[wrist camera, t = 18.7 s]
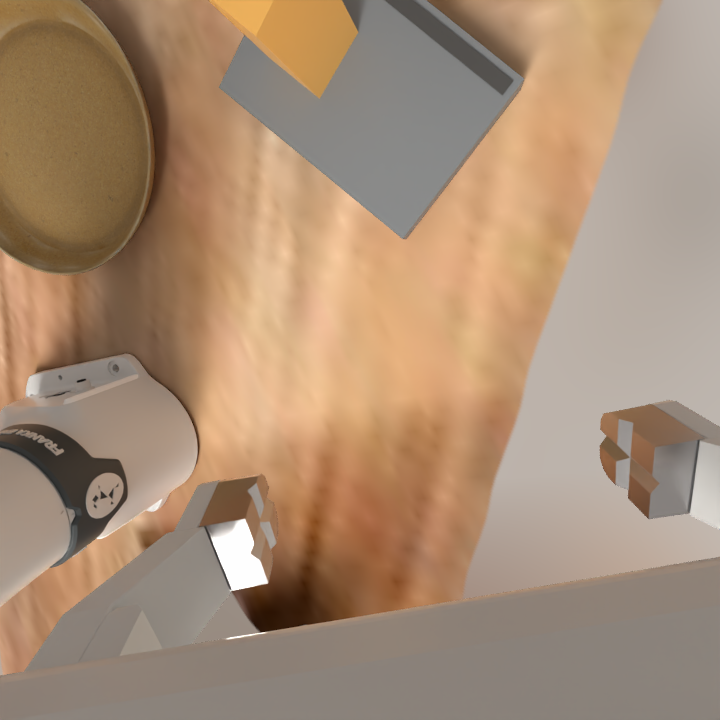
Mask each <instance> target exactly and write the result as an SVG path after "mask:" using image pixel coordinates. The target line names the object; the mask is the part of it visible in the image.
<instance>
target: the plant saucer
mask: <svg viewBox="0 0 720 720" xmlns="http://www.w3.org/2000/svg"><path fill="white" fill-rule="evenodd" d="M154 170H155V149H154V137H153V130H152V124H151V119H150V115H149V111H148V107H147V103H146V100H145V97H144V94H143V91H142V89H141V86H140V83H139V81H138V79H137V76H136V74H135V72H134V70H133V68H132V66H131V64H130V62H129V60H128V58H127V56H126V55H125V53H124V51H123V49H122V48H121V46H120V45H119V43H118V42H117V40H116V39H115V37H114V36H113V35H112V33H111V32H110V31H109V29H108V28H107V27H106V26H105V24H104V23H103V22H102V21H101V20H100V18H99V17H98V16H97V15H96V14H95V13H94V12H93V11H92V10H91V9H90V8H89V7H88V6H87V5H86V4H85V3H84V2H83V1H81V0H0V250H1V251H3V252H4V253H5V254H7V255H8V256H9V257H11V258H12V259H14V260H16V261H17V262H19V263H21V264H23V265H25V266H27V267H30V268H32V269H34V270H37V271H41V272H44V273H49V274H54V275H75V274H80V273H84V272H87V271H90V270H93V269H95V268H97V267H99V266H101V265H102V264H104V263H106V262H107V261H109V260H110V259H111V258H113V257H114V256H115V255H117V254H118V253H119V252H120V251H121V250H122V249H123V248H124V247H125V246H126V244H127V243H128V242H129V241H130V239H131V238H132V237H133V235H134V234H135V232H136V231H137V229H138V227H139V225H140V223H141V221H142V219H143V217H144V215H145V212H146V209H147V206H148V203H149V200H150V196H151V192H152V187H153V180H154Z"/></svg>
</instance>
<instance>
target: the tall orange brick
mask: <svg viewBox="0 0 720 720" xmlns="http://www.w3.org/2000/svg"><path fill="white" fill-rule="evenodd" d="M208 1H209V2H210V3H211V4H212V5H213V6H215V7H216V8H217V9H218V10H219V11H220V12H221V13H222V14H223V15H224V16H225V17H226V18H227V19H228V20H229V21H230V22H232V23H233V24H234V25H235V26H236V27H237V28H238V29H239V30H240V31H241V32H242V33H243V34H244V35H245V36H246V37H247V38H249V39H250V40H251V41H252V42H253V43H254V44H255V45H256V46H257V47H258V48H259V49H260V50H261V51H262V52H263V53H264V54H266V55H267V56H268V57H269V58H270V59H271V60H272V61H274V62H275V63H276V64H277V65H279V66H280V67H281V68H282V69H283V70H285V71H286V72H287V73H288V74H290V75H291V76H292V77H293V78H295V79H296V80H297V81H298V82H299V83H301V84H302V85H303V86H304V87H306V88H307V89H308V90H309V91H311V92H312V93H313V94H314V95H315V96H317V97H318V98H319V99H320V97H321V95H322V94H323V92H324V90H325V88H326V87H327V85H328V83H329V82H330V80H331V78H332V76H333V75H334V73H335V71H336V70H337V68H338V66H339V64H340V63H341V61H342V59H343V58H344V56H345V54H346V53H347V51H348V49H349V47H350V46H351V44H352V42H353V41H354V39H355V37H356V35H357V34H358V30H357V29H356V27H355V25H354V23H353V21H352V19H351V17H350V15H349V13H348V11H347V9H346V7H345V5H344V3H343V1H342V0H208Z"/></svg>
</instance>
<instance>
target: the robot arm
mask: <svg viewBox="0 0 720 720" xmlns="http://www.w3.org/2000/svg"><path fill="white" fill-rule="evenodd" d="M118 367H119V368H118ZM600 429H601V430H602V432H603V433H604V434H605V435H606V436H607V437H606V438H605V439H604V441H603V442H602V443H601V445H600V459H601V463H602V466H603V469H604V471H605V472H606V474H607V475H608V477H609V478H610V480H611V481H612V482H613V483H614V484H615V485H617V486H620V487H622V488H624V489H627V490H628V498H629V499H630V501H632V502H633V503H634V505H635V506H636V507H637V508H638V509H639V510H640V511H641V512H642V513H643V514H644V515H645V516H646V517H647V518H648V519H653V518H659V517H667V516H674V515H681V514H688V513H690V516H693V517H694V518H696V519H698V520H700V521H702V522H705V523H707V524H709V525H711V526H713V527H715V528H717V529H719V530H720V427H719V426H717V425H716V424H714V423H712V422H711V421H709V420H707V419H705V418H704V417H702V416H700V415H699V414H697V413H695V412H693V411H692V410H690V409H689V408H687V407H685V406H684V405H682V404H680V403H679V402H677V401H672V400H667V401H663V402H658V403H653V404H648V405H645V406H640V407H635V408H630V409H624V410H619V411H614V412H609V413H604V414H603V416H602V418H601V428H600ZM197 454H198V446H197V438H196V433H195V430H194V427H193V424H192V421H191V419H190V417H189V415H188V413H187V412H186V410H185V409H184V407H183V406H182V404H181V403H180V402H179V400H178V399H177V398H176V397H175V396H174V395H173V394H172V393H171V392H170V391H169V390H168V389H166V388H165V387H164V386H162V385H161V384H160V383H158V382H157V381H155V380H154V379H153V378H152V377H151V376H149V375H148V373H147V372H146V370H145V369H144V368H143V366H142V365H141V364H140V362H139V361H138V360H137V359H136V358H135V357H134V356H133V355H131V354H121V355H116V356H112V357H107V358H102V359H97V360H93V361H88V362H83V363H78V364H74V365H69V366H64V367H60V368H55V369H50V370H45V371H41V372H38V373H35V374H33V375H31V376H30V377H29V379H28V382H27V387H26V398H23V399H21V400H18V401H15V402H13V403H10V404H8V405H6V406H5V407H4V408H3V409H2V410H1V412H0V607H1V606H2V605H3V604H5V603H6V602H7V601H8V600H9V599H11V598H12V597H13V596H14V595H15V594H17V593H18V592H19V591H20V590H22V589H23V588H24V587H25V586H27V585H28V584H29V583H30V582H32V581H33V580H34V579H35V578H37V577H38V576H39V575H40V574H42V573H43V572H44V571H46V570H47V569H48V568H52V567H56V566H58V565H61V564H62V563H64V562H65V561H67V560H68V559H69V558H72V557H74V556H75V555H76V554H78V553H80V552H81V551H82V550H84V549H85V548H86V547H87V545H88V544H90V543H91V542H92V541H93V540H95V539H96V538H97V539H102V538H104V537H106V536H108V535H110V534H111V533H113V532H114V531H116V530H117V529H119V528H120V527H122V526H123V525H125V524H126V523H128V522H129V521H131V520H132V519H134V518H135V517H137V516H138V515H140V514H141V513H142V512H144V511H145V510H147V511H151V512H153V511H156V510H157V509H159V508H160V507H162V506H163V505H164V504H165V502H166V500H167V498H168V496H169V494H170V493H171V492H172V491H173V490H174V489H176V488H177V487H179V486H180V485H182V484H183V483H184V482H185V481H186V480H187V479H188V478H189V477H190V475H191V474H192V472H193V470H194V468H195V465H196V461H197ZM268 490H269V486H268V484H267V481H266V478H265V476H264V475H262V474H256V475H250V476H243V477H237V478H231V479H224V480H217V481H212V482H207V483H202V484H200V485H198V487H197V488H196V490H195V492H194V494H193V496H192V498H191V500H190V502H189V504H188V505H187V507H186V509H185V511H184V513H183V515H182V517H181V519H180V521H179V523H178V525H177V526H176V528H175V530H174V532H170V533H167V534H165V535H164V536H163V537H161V538H160V539H159V540H158V541H156V542H155V543H154V544H153V545H151V546H150V547H149V548H148V549H146V550H145V551H144V552H142V553H141V554H140V555H139V556H137V557H136V558H135V559H134V560H132V561H131V562H130V563H128V564H127V565H126V566H125V567H123V568H122V569H121V570H120V571H118V572H117V573H116V574H114V575H113V576H112V577H111V578H109V579H108V580H107V581H106V582H104V583H103V584H102V585H100V586H99V587H98V588H97V589H95V590H94V591H93V592H92V593H90V594H89V595H88V596H86V597H85V598H84V599H83V600H81V601H80V602H79V603H78V604H76V605H75V606H74V607H73V608H71V609H70V610H69V611H67V612H66V613H65V614H64V615H63V616H62V617H61V618H60V620H59V621H58V623H57V624H56V626H55V627H54V629H53V630H52V632H51V633H50V635H49V636H48V637H47V639H46V640H45V642H44V643H43V645H42V646H41V648H40V649H39V651H38V652H37V654H36V655H35V656H34V658H33V659H32V661H31V662H30V664H29V665H28V667H27V668H26V670H25V671H24V672H19V673H13V674H7V675H1V676H0V720H720V557H716V558H711V559H704V560H698V561H692V562H686V563H680V564H674V565H669V566H661V567H656V568H649V569H643V570H637V571H631V572H625V573H619V574H613V575H607V576H600V577H595V578H588V579H582V580H576V581H570V582H564V583H558V584H552V585H546V586H540V587H534V588H528V589H522V590H516V591H510V592H504V593H498V594H492V595H486V596H480V597H474V598H468V599H462V600H456V601H450V602H444V603H438V604H432V605H426V606H420V607H414V608H408V609H402V610H396V611H390V612H384V613H377V614H371V615H365V616H359V617H353V618H347V619H341V620H335V621H329V622H323V623H317V624H311V625H305V626H299V627H292V628H286V629H280V630H274V631H268V632H262V633H256V634H250V635H244V636H238V637H232V638H226V639H220V640H214V641H207V642H201V643H195V644H192V643H193V642H194V640H195V639H196V638H197V637H198V635H199V634H200V633H201V631H202V630H203V629H204V627H205V626H206V625H207V624H208V622H209V621H210V620H211V618H212V617H213V616H214V614H215V613H216V612H217V610H218V609H219V608H220V607H221V605H222V604H223V603H224V601H225V600H226V599H227V597H228V596H229V595H230V594H231V591H232V590H237V589H242V588H247V587H252V586H257V585H262V584H267V583H268V582H269V577H270V573H271V568H272V563H273V556H272V553H271V548H272V547H273V546H274V545H275V544H276V543H277V537H278V518H277V512H276V508H275V505H274V502H272V501H271V500H269V499H268V498H267V494H268Z"/></svg>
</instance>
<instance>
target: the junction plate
mask: <svg viewBox="0 0 720 720" xmlns="http://www.w3.org/2000/svg"><path fill="white" fill-rule="evenodd" d="M342 1H343V3H344V5H345V7H346V9H347V11H348V13H349V15H350V17H351V19H352V21H353V23H354V25H355V27H356V29H357V30H358V34H357V35H356V37H355V39H354V41H353V42H352V44H351V46H350V47H349V49H348V51H347V53H346V54H345V56H344V58H343V59H342V61H341V63H340V64H339V66H338V68H337V70H336V71H335V73H334V75H333V76H332V78H331V80H330V82H329V83H328V85H327V87H326V88H325V90H324V92H323V94H322V95H321V97H320V99H319V98H318V97H317V96H315V95H314V94H313V93H312V92H311V91H309V90H308V89H307V88H306V87H304V86H303V85H302V84H301V83H299V82H298V81H297V80H296V79H295V78H293V77H292V76H291V75H290V74H288V73H287V72H286V71H285V70H283V69H282V68H281V67H280V66H279V65H277V64H276V63H275V62H274V61H272V60H271V59H270V58H269V57H268V56H267V55H266V54H264V53H263V52H262V51H261V50H260V49H259V48H258V47H257V46H256V45H255V44H254V43H253V42H252V41H251V40H250V39H249V38H247V37H246V36H245V35H244V37H243V39H242V41H241V43H240V45H239V48H238V50H237V52H236V54H235V56H234V58H233V60H232V62H231V64H230V66H229V68H228V70H227V72H226V74H225V76H224V78H223V80H222V82H221V84H220V86H219V88H220V89H221V90H223V91H224V92H225V93H226V94H227V95H229V96H230V97H231V98H232V99H234V100H235V101H236V102H237V103H238V104H240V105H241V106H242V107H243V108H244V109H246V110H247V111H248V112H249V113H251V114H252V115H253V116H254V117H255V118H257V119H258V120H259V121H260V122H261V123H263V124H264V125H265V126H266V127H268V128H269V129H270V130H271V131H272V132H274V133H275V134H276V135H277V136H278V137H280V138H281V139H282V140H283V141H285V142H286V143H287V144H288V145H289V146H291V147H292V148H293V149H294V150H295V151H297V152H298V153H299V154H300V155H302V156H303V157H304V158H305V159H306V160H308V161H309V162H310V163H311V164H312V165H314V166H315V167H316V168H317V169H319V170H320V171H321V172H322V173H323V174H325V175H326V176H327V177H328V178H329V179H331V180H332V181H333V182H334V183H335V184H337V185H338V186H339V187H340V188H342V189H343V190H344V191H345V192H346V193H348V194H349V195H350V196H351V197H352V198H354V199H355V200H356V201H357V202H359V203H360V204H361V205H362V206H363V207H365V208H366V209H367V210H368V211H369V212H371V213H372V214H373V215H374V216H376V217H377V218H378V219H379V220H380V221H382V222H383V223H384V224H385V225H386V226H388V227H389V228H390V229H391V230H393V231H394V232H395V233H396V234H397V235H399V236H400V237H401V238H402V239H407V237H408V236H409V235H410V234H411V232H412V231H413V230H414V228H415V227H416V226H417V224H418V223H419V222H420V220H421V219H422V218H423V217H424V215H425V214H426V213H427V211H428V210H429V209H430V207H431V206H432V205H433V203H434V202H435V201H436V200H437V198H438V197H439V196H440V194H441V193H442V192H443V190H444V189H445V188H446V186H447V185H448V184H449V183H450V181H451V180H452V179H453V177H454V176H455V175H456V173H457V172H458V171H459V170H460V168H461V167H462V166H463V164H464V163H465V162H466V160H467V159H468V158H469V156H470V155H471V154H472V153H473V151H474V150H475V149H476V147H477V146H478V145H479V143H480V142H481V141H482V139H483V138H484V137H485V136H486V134H487V133H488V132H489V130H490V129H491V128H492V126H493V125H494V124H495V122H496V121H497V120H498V119H499V117H500V116H501V115H502V113H503V112H504V111H505V109H506V108H507V107H508V105H509V104H510V103H511V102H512V100H513V99H514V98H515V96H516V95H517V94H518V92H519V91H520V90H521V87H522V84H523V81H524V78H523V77H521V76H520V75H519V74H518V73H516V72H515V71H514V70H513V69H511V68H510V67H509V66H508V65H506V64H505V63H504V62H503V61H501V60H500V59H499V58H498V57H496V56H495V55H494V54H493V53H491V52H490V51H489V50H488V49H487V48H485V47H484V46H483V45H482V44H480V43H479V42H478V41H477V40H475V39H474V38H473V37H472V36H470V35H469V34H468V33H467V32H465V31H464V30H463V29H462V28H460V27H459V26H458V25H457V24H455V23H454V22H453V21H452V20H450V19H449V18H448V17H447V16H445V15H444V14H443V13H442V12H440V11H439V10H438V9H437V8H436V7H434V6H433V5H432V4H431V3H429V2H428V1H427V0H342Z"/></svg>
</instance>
